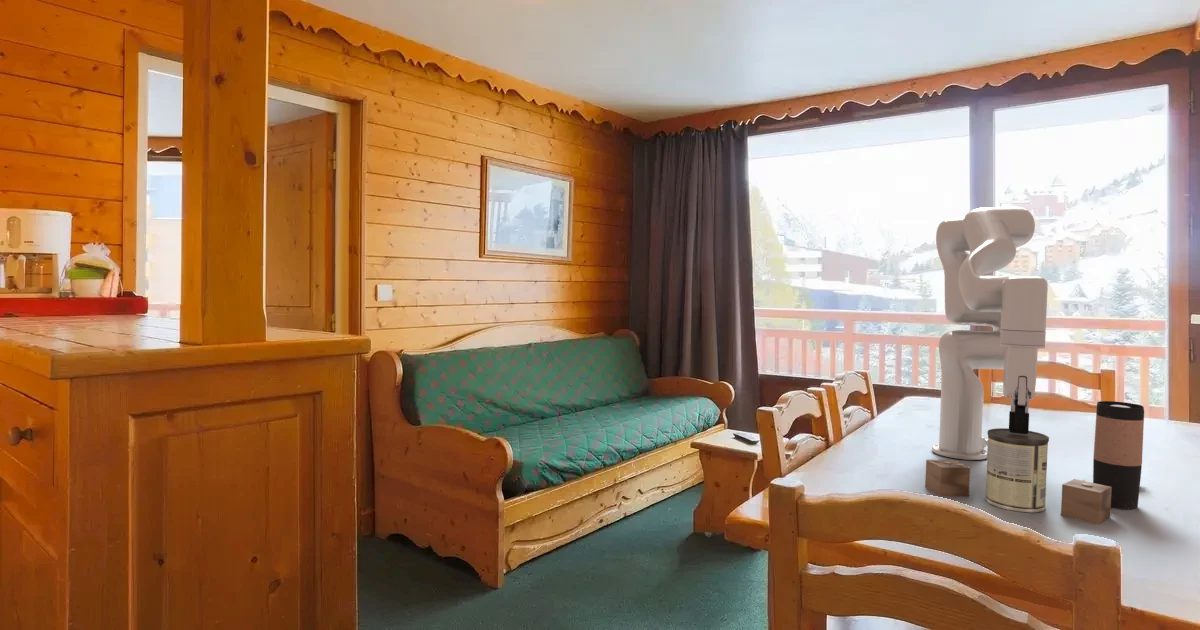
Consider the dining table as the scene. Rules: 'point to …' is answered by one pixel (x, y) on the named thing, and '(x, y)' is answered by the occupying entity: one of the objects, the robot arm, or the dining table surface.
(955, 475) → the three-pip block
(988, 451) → the coffee can
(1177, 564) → the dining table surface
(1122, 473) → the travel mug
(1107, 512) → the one-pip block
